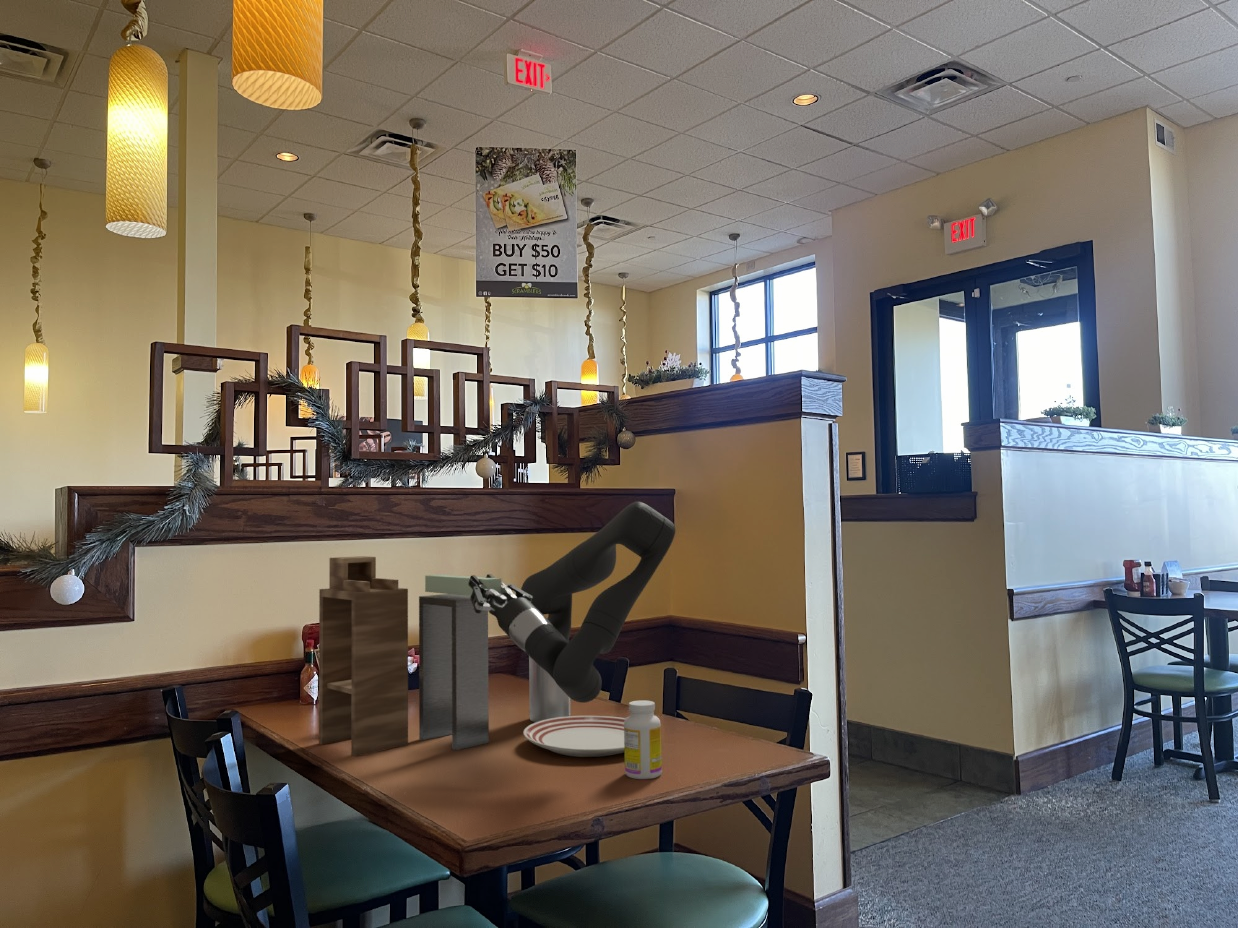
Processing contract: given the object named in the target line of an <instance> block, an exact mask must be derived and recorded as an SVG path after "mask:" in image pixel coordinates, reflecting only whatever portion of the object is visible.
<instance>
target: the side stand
mask: <svg viewBox="0 0 1238 928" xmlns="http://www.w3.org/2000/svg"><path fill="white" fill-rule="evenodd" d="M470 597H471V596H467V595H456V594H445V593H440V594H432V595H431V594H429V595H420V596H418V667H419V669H418V676H419V677H418V685H419V686H418V687H419V689H418V699H419V700H418V702H419V703H418V706H419V707H418V708H419V713H418V714H419V715H418V719H419V720H418V722H419V723H418V725H419V727H418V728H419V730H418V731H419V732H418V735H419V737H418V739H419V741H427V740H431V739H436V738H441V737H445V736H449V735H451V737H452V743H451V744H452V750H454V751H460V750H465V749H468V748H473V747H476V746H482V745H485V744H489V742H490V734H489V733H490V732H489V731H490V727H489V726H490V724H489V723H490V722H489V721H490V720H489V716H490V714H489V706H490V705H489V698H490V697H489V696H490V695H489V611H485V610H482V611H481V613H476V612H475V610H474V607H473V604H472V602H471V599H470Z"/></svg>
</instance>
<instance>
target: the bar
mask: <svg viewBox="0 0 1238 928" xmlns="http://www.w3.org/2000/svg"><path fill="white" fill-rule="evenodd" d="M470 577H471V575H470V576H469V575H468V576H467V575H465V576H464V575H455V574H454V575H452V574H450V575H449V574H429V575H425V577H424V580H425V581H424V582H425V586H424V587H425V588H424V590H425V591H424V592H425V593H432V594H433V593H437V594H456V595H467V596H471V595H472V592H473V589H472V588H471V587H470V586H469V585H468V583H469V580H470ZM476 577H477V578H478V579H479V580H480V581H481V582H482V583H483V585H485V586H486V587H487V588H489V589H494V590H495V591H496V592H498V593H499V594H501V583H502V578H499V577H498V578H497V577H495V578H486V577H484V576H482V577H481V576H476ZM485 594H486V593H485V592H483V595H484V596H485Z"/></svg>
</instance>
